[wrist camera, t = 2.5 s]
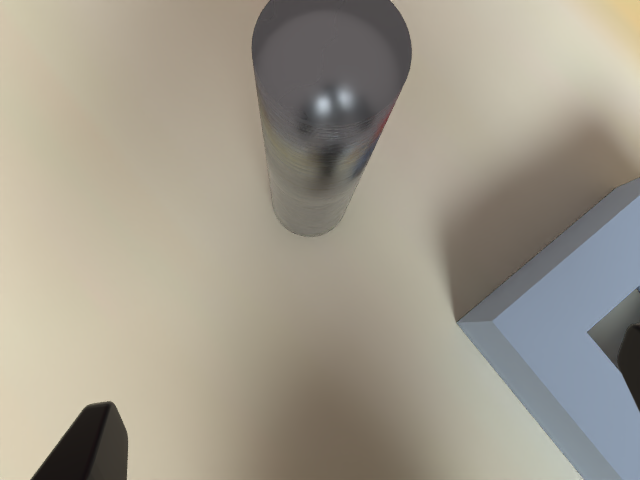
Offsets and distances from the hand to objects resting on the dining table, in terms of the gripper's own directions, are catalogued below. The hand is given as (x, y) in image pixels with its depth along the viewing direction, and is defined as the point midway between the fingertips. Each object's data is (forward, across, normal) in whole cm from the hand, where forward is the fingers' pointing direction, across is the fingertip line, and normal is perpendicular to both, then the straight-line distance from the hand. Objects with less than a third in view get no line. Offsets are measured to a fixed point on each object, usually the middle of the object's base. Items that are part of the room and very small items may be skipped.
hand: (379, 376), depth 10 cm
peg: (+13, 0, +4) cm, 14 cm away
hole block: (+8, -11, +10) cm, 17 cm away
